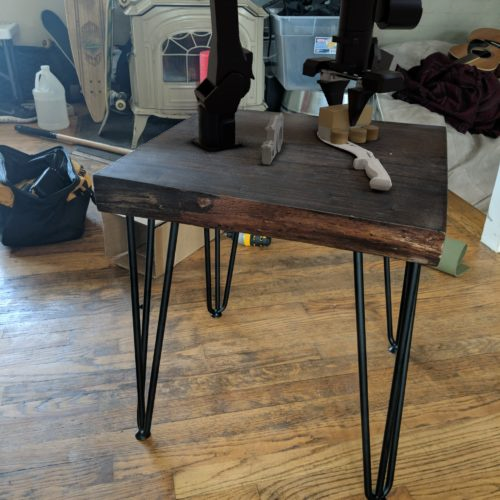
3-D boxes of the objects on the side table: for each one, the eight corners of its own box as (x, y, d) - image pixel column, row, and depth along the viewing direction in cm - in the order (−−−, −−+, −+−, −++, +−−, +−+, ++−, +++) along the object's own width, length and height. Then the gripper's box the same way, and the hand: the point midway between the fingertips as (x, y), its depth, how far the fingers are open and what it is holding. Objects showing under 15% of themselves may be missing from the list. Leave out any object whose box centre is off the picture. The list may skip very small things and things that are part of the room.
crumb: (356, 137, 93) (358, 126, 92) (368, 134, 95) (369, 124, 94) (369, 141, 91) (371, 130, 90) (380, 138, 93) (382, 127, 92)
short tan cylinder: (344, 139, 92) (346, 128, 91) (356, 137, 93) (357, 126, 92) (357, 144, 90) (358, 132, 89) (369, 141, 91) (370, 130, 90)
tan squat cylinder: (326, 141, 89) (327, 130, 88) (337, 138, 91) (339, 127, 90) (339, 145, 87) (340, 134, 86) (351, 142, 89) (352, 131, 88)
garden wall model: (271, 166, 78) (272, 127, 76) (259, 165, 79) (261, 126, 76) (284, 143, 89) (286, 109, 86) (274, 142, 89) (275, 108, 86)
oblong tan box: (316, 135, 92) (319, 107, 89) (354, 128, 97) (358, 102, 95) (330, 140, 89) (334, 111, 87) (369, 133, 95) (373, 106, 92)
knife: (316, 127, 96) (358, 127, 96) (315, 135, 96) (357, 136, 96) (336, 179, 69) (395, 180, 69) (335, 190, 70) (393, 191, 70)
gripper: (433, 33, 83) (415, 130, 90) (348, 22, 95) (339, 107, 103) (387, 37, 77) (372, 139, 84) (303, 24, 90) (297, 114, 97)
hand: (344, 124), depth 92 cm, fingers closed on oblong tan box, 3 cm apart
